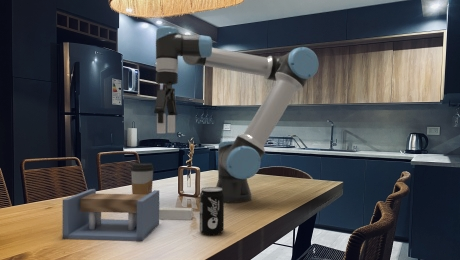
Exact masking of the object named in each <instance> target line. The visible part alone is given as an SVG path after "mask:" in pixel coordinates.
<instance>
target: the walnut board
mask: <svg viewBox="0 0 460 260" xmlns="http://www.w3.org/2000/svg"><path fill="white" fill-rule="evenodd" d="M145 196H146V195H142V194H132V193H127V194H126V193H96V194H91V195H88V196H86V197H83V198H81V199H80V212H101V213H117V214H118V213H120V214H121V213H123V214H127V213H137V201H138V200H140V199H141V198H143V197H145Z"/></svg>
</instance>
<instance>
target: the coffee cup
mask: <svg viewBox="0 0 460 260" xmlns="http://www.w3.org/2000/svg"><path fill="white" fill-rule="evenodd" d="M154 169H155V168H154V166H153V163H152V162H151V163H150V162H142V163H141V162H140V163H138V162H137V163H133V164H131V167H130V173H131V192H132V193H131V194H142V195H148V194H149V193H151V192H153V182H154V181H153V180H154V179H153V177H154Z"/></svg>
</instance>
